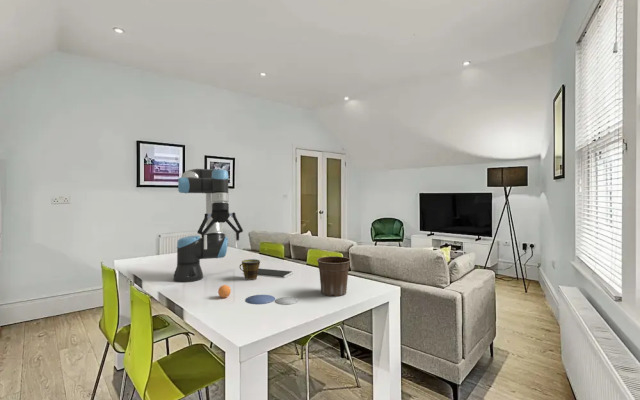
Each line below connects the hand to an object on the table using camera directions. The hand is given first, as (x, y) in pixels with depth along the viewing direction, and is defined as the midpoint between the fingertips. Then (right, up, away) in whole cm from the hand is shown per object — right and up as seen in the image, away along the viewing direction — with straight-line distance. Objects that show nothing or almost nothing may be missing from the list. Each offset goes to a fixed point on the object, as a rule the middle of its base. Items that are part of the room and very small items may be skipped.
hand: (220, 248), depth 153 cm
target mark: (+19, -22, -5) cm, 30 cm away
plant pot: (+52, -22, +6) cm, 57 cm away
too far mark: (+31, -22, -7) cm, 39 cm away
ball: (+2, -19, -2) cm, 19 cm away
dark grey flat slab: (+16, -22, +44) cm, 52 cm away
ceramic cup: (+6, -22, +30) cm, 38 cm away
